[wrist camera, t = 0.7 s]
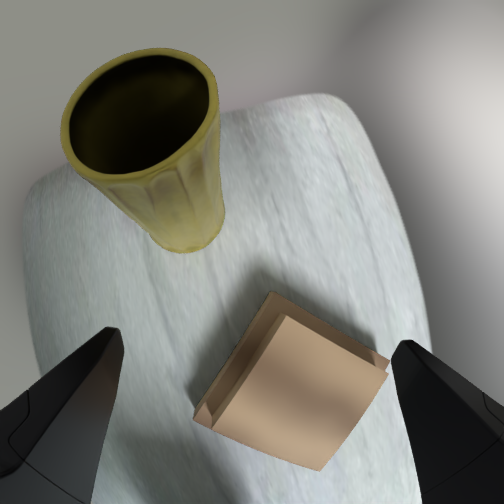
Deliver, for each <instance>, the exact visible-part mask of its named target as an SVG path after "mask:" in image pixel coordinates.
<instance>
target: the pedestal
mask: <svg viewBox="0 0 504 504" xmlns="http://www.w3.org/2000/svg"><path fill="white" fill-rule="evenodd" d="M389 362H390V360H388V359H386V358H385V357H383V356H381V355H379V354H378V353H376V352H374V351H373V350H371V349H369V348H367V347H366V346H364V345H362V344H361V343H359V342H357V341H356V340H354V339H352V338H351V337H349V336H347V335H345V334H344V333H342V332H340V331H339V330H337V329H335V328H334V327H332V326H330V325H329V324H327V323H325V322H324V321H322V320H320V319H319V318H317V317H315V316H314V315H312V314H310V313H309V312H307V311H305V310H304V309H302V308H301V307H299V306H297V305H296V304H294V303H292V302H291V301H289V300H287V299H286V298H284V297H283V296H281V295H279V294H278V293H276V292H272V291H270V293H269V294H268V296H267V297H266V299H265V301H264V302H263V304H262V306H261V307H260V309H259V310H258V312H257V314H256V315H255V317H254V318H253V320H252V322H251V323H250V325H249V326H248V328H247V330H246V331H245V333H244V334H243V336H242V338H241V339H240V341H239V342H238V344H237V345H236V347H235V349H234V350H233V352H232V353H231V355H230V356H229V358H228V360H227V361H226V363H225V364H224V366H223V367H222V369H221V370H220V372H219V373H218V375H217V376H216V378H215V380H214V381H213V383H212V384H211V386H210V387H209V389H208V390H207V392H206V393H205V395H204V396H203V398H202V399H201V401H200V402H199V404H198V405H197V407H196V408H195V411H194V416H193V420H194V421H196V422H197V423H199V424H201V425H203V426H205V427H207V428H209V429H211V430H213V431H215V432H217V433H220V434H222V435H224V436H226V437H228V438H230V439H232V440H235V441H237V442H239V443H242V444H244V445H246V446H249V447H251V448H253V449H256V450H258V451H261V452H263V453H266V454H268V455H271V456H274V457H276V458H279V459H282V460H285V461H288V462H291V463H294V464H297V465H300V466H303V467H306V468H309V469H312V470H316V471H321V469H322V468H323V467H324V466H325V465H326V463H327V462H328V461H329V460H330V459H331V457H332V456H333V455H334V454H335V452H336V451H337V450H338V449H339V447H340V446H341V445H342V443H343V442H344V441H345V439H346V438H347V437H348V435H349V434H350V433H351V431H352V430H353V428H354V427H355V426H356V424H357V423H358V421H359V420H360V418H361V417H362V416H363V414H364V413H365V411H366V410H367V408H368V407H369V405H370V404H371V402H372V400H373V399H374V397H375V396H376V394H377V393H378V391H379V389H380V388H381V386H382V384H383V383H384V381H385V379H386V378H387V376H388V373H387V372H385V369H386V368H387V366H388V364H389Z"/></svg>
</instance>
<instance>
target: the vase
mask: <svg viewBox="0 0 504 504" xmlns="http://www.w3.org/2000/svg"><path fill="white" fill-rule="evenodd" d="M60 135H61V144H62V148H63V150H64V153H65V155H66V157H67V159H68V161H69V163H70V164H71V166H72V167H73V168H74V170H75V171H76V172H77V173H78V174H79V175H80V176H81V177H82V178H84V179H85V180H87V181H88V182H89V183H91V184H92V185H93V186H94V187H96V188H97V189H98V190H99V191H100V192H102V193H103V194H104V195H105V196H106V197H107V198H108V199H109V200H110V201H111V202H113V203H114V204H115V205H116V206H117V207H118V208H119V209H120V210H122V211H123V212H124V213H125V214H126V215H127V216H129V217H130V218H131V219H132V220H134V221H135V222H136V223H137V224H138V225H139V226H140V227H141V228H142V229H144V230H145V231H146V232H148V233H149V235H150V236H151V238H152V239H153V240H154V241H155V242H156V243H157V244H158V245H159V246H161V247H162V248H164V249H166V250H168V251H171V252H175V253H191V252H195V251H198V250H200V249H202V248H204V247H206V246H207V245H209V244H210V243H211V242H212V241H213V240H214V238H215V237H216V236H217V235H218V234H219V232H220V230H221V228H222V225H223V222H224V218H225V207H224V202H223V197H222V188H221V176H220V168H219V150H220V111H219V98H218V89H217V83H216V80H215V76H214V75H213V73H212V72H211V70H210V69H209V68H208V67H207V65H206V64H204V63H203V62H202V61H201V60H200V59H198V58H196V57H195V56H193V55H191V54H188V53H186V52H182V51H178V50H174V49H169V48H150V49H144V50H138V51H134V52H130V53H127V54H124V55H121V56H119V57H117V58H115V59H112V60H111V61H109V62H107V63H106V64H104V65H103V66H101V67H99V68H98V69H96V70H95V71H94V72H92V73H91V74H90V75H89V76H88V77H87V78H86V79H85V80H84V81H83V82H82V83H81V84H80V85H79V87H78V88H77V89H76V90H75V92H74V93H73V95H72V96H71V98H70V100H69V102H68V104H67V106H66V108H65V110H64V113H63V116H62V121H61V133H60Z"/></svg>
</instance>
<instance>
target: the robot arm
mask: <svg viewBox="0 0 504 504" xmlns="http://www.w3.org/2000/svg"><path fill="white" fill-rule="evenodd" d="M123 357H124V345H123V341H122V336H121V332H120V330H119V329H118V328H115V327H105V328H104V329H102V330H101V331H100V332H98V333H97V334H96V335H95V336H93V337H92V338H91V339H89V340H88V341H87V342H86V343H84V344H83V345H82V346H81V347H79V348H78V349H77V350H75V351H74V352H73V353H72V354H70V355H69V356H68V357H67V358H65V359H64V360H63V361H62V362H60V363H59V364H58V365H57V366H55V367H54V368H53V369H52V370H50V371H49V372H48V373H47V374H45V375H44V376H43V377H42V378H41V379H39V380H38V381H37V382H36V383H34V385H32V386H31V387H30V388H29V390H26V391H25V392H23V393H22V394H21V395H20V396H19V397H17V398H16V399H15V400H14V401H12V402H11V403H10V404H9V405H7V406H6V407H4V408H3V409H2V410H0V504H90V503H91V498H92V493H93V488H94V483H95V478H96V473H97V469H98V464H99V460H100V455H101V451H102V447H103V443H104V439H105V435H106V431H107V428H108V424H109V420H110V417H111V413H112V410H113V406H114V403H115V399H116V394H117V389H118V383H119V378H120V372H121V367H122V362H123ZM391 365H392V370H393V375H394V380H395V385H396V390H397V395H398V400H399V404H400V407H401V411H402V414H403V418H404V422H405V426H406V429H407V433H408V437H409V441H410V445H411V449H412V454H413V458H414V462H415V467H416V472H417V476H418V481H419V487H420V492H421V498H422V504H504V407H503V406H502V405H500V404H499V403H497V402H496V401H494V400H493V399H492V398H490V397H489V396H488V395H487V394H485V393H484V392H482V391H481V390H480V389H479V388H477V387H476V386H474V385H473V384H472V383H471V382H469V381H468V380H467V379H465V378H464V377H463V376H461V375H460V374H459V373H457V372H456V371H454V370H453V369H452V368H450V367H449V366H448V365H446V364H445V363H443V362H442V361H441V360H440V359H438V358H437V357H435V356H434V355H433V354H431V353H430V352H429V351H427V350H426V349H424V348H423V347H422V346H420V345H419V344H418V343H416V342H415V341H413V340H402V341H401V342H400V343H399V345H398V346H397V348H396V350H395V352H394V354H393V355H392V358H391Z"/></svg>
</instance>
